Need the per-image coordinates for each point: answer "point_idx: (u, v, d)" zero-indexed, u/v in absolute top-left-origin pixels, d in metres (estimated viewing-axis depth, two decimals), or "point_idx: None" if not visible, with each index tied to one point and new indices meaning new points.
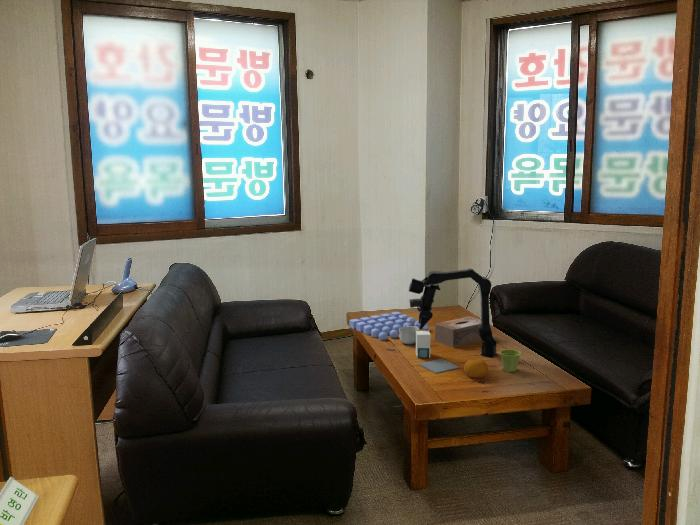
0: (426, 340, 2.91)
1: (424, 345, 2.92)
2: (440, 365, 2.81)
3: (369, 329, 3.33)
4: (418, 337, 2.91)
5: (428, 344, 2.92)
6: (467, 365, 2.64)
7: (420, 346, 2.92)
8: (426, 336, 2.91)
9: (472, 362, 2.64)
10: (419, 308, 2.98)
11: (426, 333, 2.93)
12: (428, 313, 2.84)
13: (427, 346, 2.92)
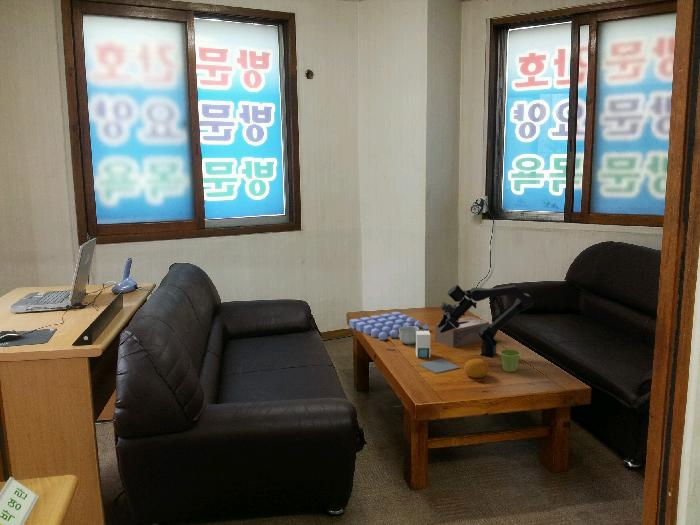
0: (426, 340, 2.91)
1: (424, 345, 2.92)
2: (440, 365, 2.81)
3: (369, 329, 3.33)
4: (418, 337, 2.91)
5: (428, 344, 2.92)
6: (467, 365, 2.64)
7: (420, 346, 2.92)
8: (426, 336, 2.91)
9: (472, 362, 2.64)
10: (445, 314, 2.98)
11: (426, 333, 2.93)
12: (456, 323, 2.83)
13: (427, 346, 2.92)
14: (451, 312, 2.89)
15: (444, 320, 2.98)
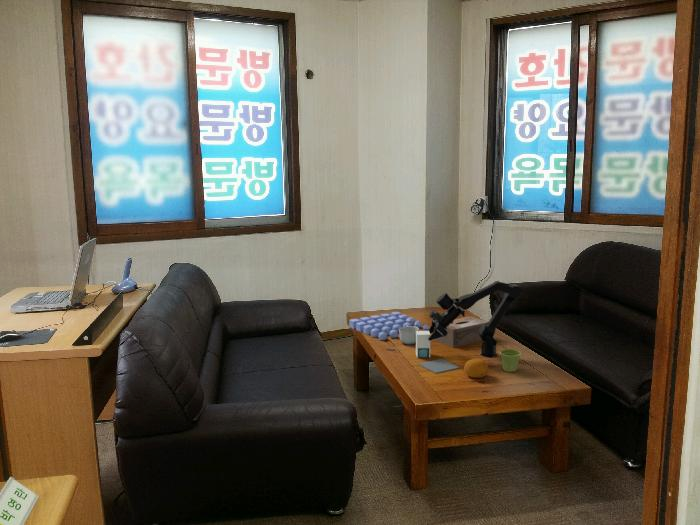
0: (426, 340, 2.91)
1: (424, 345, 2.92)
2: (440, 365, 2.81)
3: (369, 329, 3.33)
4: (418, 337, 2.91)
5: (428, 344, 2.92)
6: (467, 365, 2.64)
7: (420, 346, 2.92)
8: (426, 336, 2.91)
9: (472, 362, 2.64)
10: (434, 321, 2.99)
11: (426, 333, 2.93)
12: (444, 331, 2.84)
13: (427, 346, 2.92)
14: (439, 320, 2.90)
15: (433, 328, 2.99)
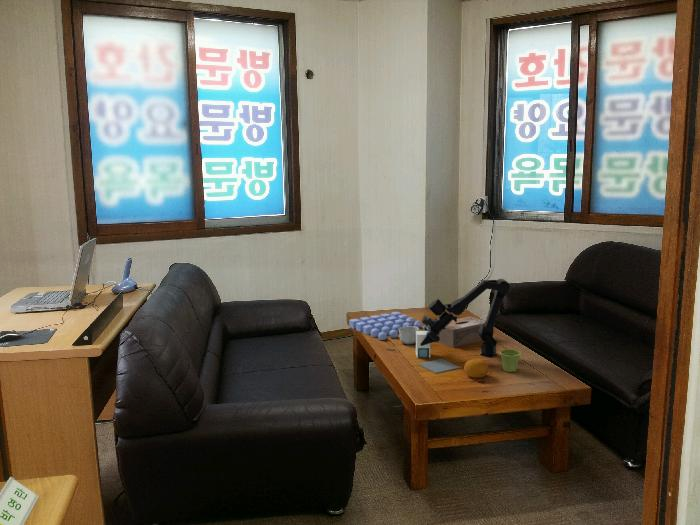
0: None
1: (424, 345, 2.92)
2: (440, 365, 2.81)
3: (369, 329, 3.33)
4: (418, 337, 2.91)
5: (428, 344, 2.92)
6: (467, 365, 2.64)
7: (420, 346, 2.92)
8: None
9: (472, 362, 2.64)
10: (426, 328, 2.98)
11: (426, 333, 2.93)
12: (436, 337, 2.85)
13: (427, 346, 2.92)
14: (432, 326, 2.91)
15: None
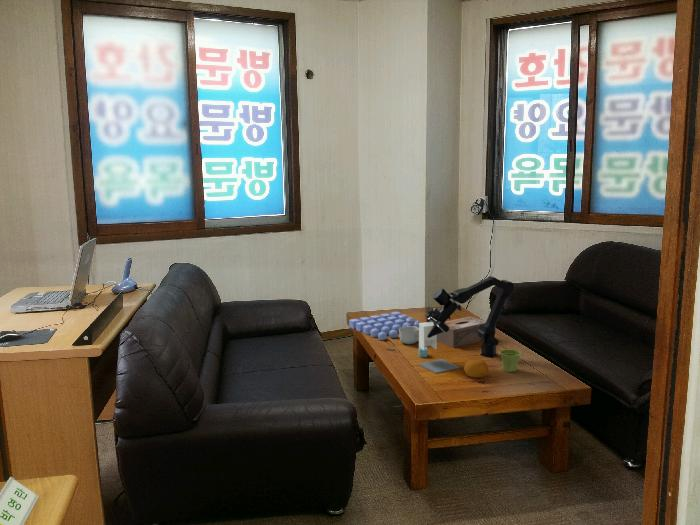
0: None
1: (431, 337, 2.82)
2: (440, 365, 2.81)
3: (368, 329, 3.33)
4: (425, 329, 2.81)
5: None
6: (467, 365, 2.64)
7: (427, 338, 2.82)
8: None
9: (472, 362, 2.64)
10: (429, 319, 2.89)
11: (431, 324, 2.84)
12: (446, 327, 2.77)
13: (433, 337, 2.83)
14: (438, 316, 2.82)
15: None
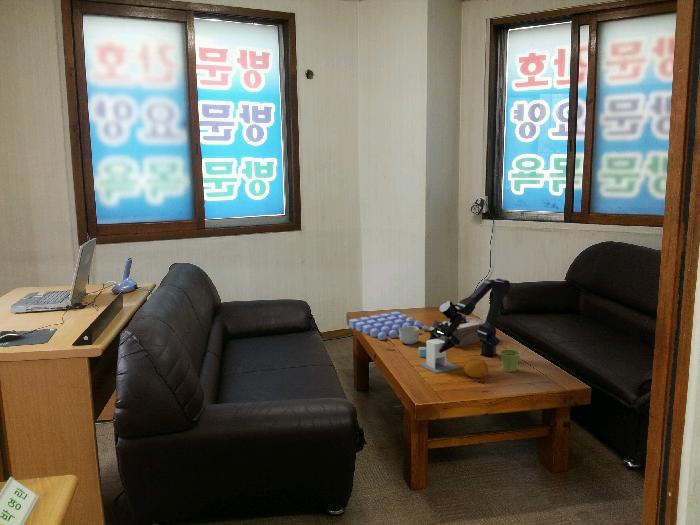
0: None
1: (440, 354, 2.77)
2: (440, 365, 2.81)
3: (368, 329, 3.33)
4: (435, 347, 2.74)
5: (444, 352, 2.77)
6: (467, 365, 2.64)
7: (437, 356, 2.76)
8: (442, 344, 2.76)
9: (472, 362, 2.64)
10: (433, 332, 2.84)
11: (440, 341, 2.78)
12: (458, 340, 2.72)
13: (443, 355, 2.77)
14: (447, 330, 2.77)
15: None
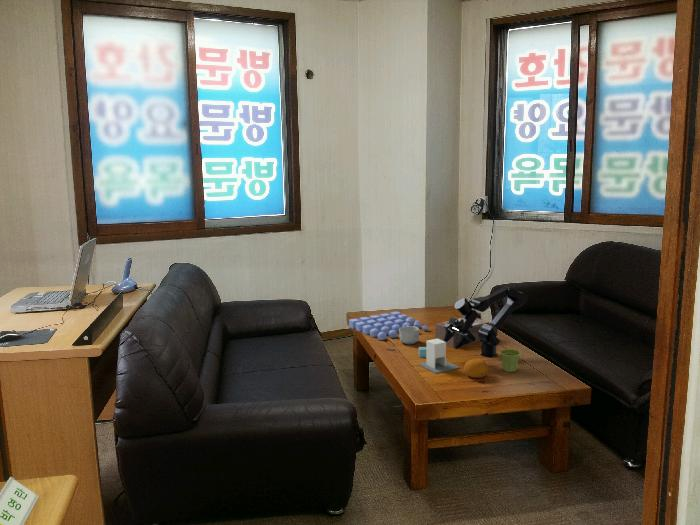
0: (442, 349, 2.77)
1: (440, 354, 2.77)
2: (440, 365, 2.81)
3: (368, 329, 3.33)
4: (435, 347, 2.74)
5: (444, 352, 2.77)
6: (467, 365, 2.64)
7: (437, 356, 2.76)
8: (442, 344, 2.76)
9: (472, 362, 2.64)
10: (448, 328, 2.88)
11: (440, 341, 2.78)
12: (473, 337, 2.77)
13: (443, 355, 2.77)
14: (462, 326, 2.81)
15: (448, 335, 2.88)
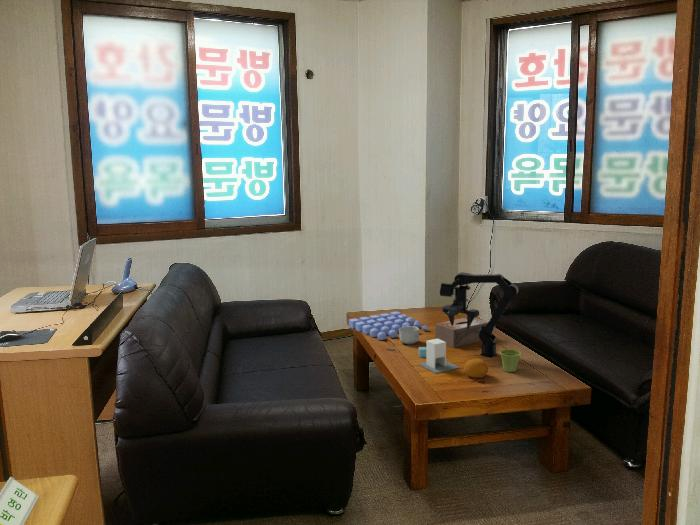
0: (442, 349, 2.77)
1: (440, 354, 2.77)
2: (440, 365, 2.81)
3: (368, 329, 3.34)
4: (435, 347, 2.74)
5: (444, 352, 2.77)
6: (467, 365, 2.64)
7: (437, 356, 2.76)
8: (442, 344, 2.76)
9: (472, 362, 2.64)
10: (449, 312, 3.00)
11: (440, 341, 2.78)
12: (477, 312, 2.92)
13: (443, 355, 2.77)
14: None
15: (452, 316, 3.01)
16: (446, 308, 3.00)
